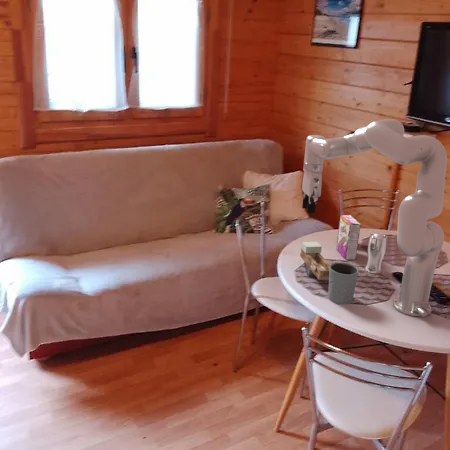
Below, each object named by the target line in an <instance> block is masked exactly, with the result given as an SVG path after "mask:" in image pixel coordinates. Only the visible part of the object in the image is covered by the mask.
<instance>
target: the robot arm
mask: <svg viewBox="0 0 450 450" xmlns="http://www.w3.org/2000/svg"><path fill="white" fill-rule="evenodd" d="M404 135H405V128H404V125H403V123H402V122H401V121H400V120H397V119H394V118H387V119H386V118H385V119H379V120H374V121H372V122H370V123H369V124H368V125H365V126H361V127H359V128H358V127H357V129H356V130H355V132H354V133H352V134H351V133H350V134H348V135H345V136H339V137H333V138H332V137H331V138H326V137H325V136H323V135H318V134H311V135H310V134H309V135H308V136H307V137H306V139H305V141H306V142H305V148H304V149H305V151H304V159H303V168H302V169H303V177H302V184H301V185H302V186H301V189H302V192H303V195H302V207H301V208H302V209H303V210H304V209H306V213H307V214H315V213H316V205H317V202H318V200H319V197H321V196H322V195H321V194H322V185H323V184H322V182H323V180H322V179H323V177H322V173H323V170H324V161H325V160H331V159H337V158H342V157H343V158H344V157H347V156H351V155H354V154H359V153H364V152H368V151H371V150H375V151H377V152H379V153H380V154H382V155H383V156H384V157H387V159H390V160H391V161H393V162H394V163H396V164H398V165H403V166H404V165H405V166H406V165H412V164H417V163H420V167H419V169H418V172H417V174H416V187H415V190H414V191H415V192H414V193H412V194H409V195H407V196H406V197H404V198H403V199H402V201H401V202H400V205H399V207H398V213H397V214H398V215H397V226H396V227H397V228H396V230H397V231H396V243H397V248H398V249H399V251H400V252H401V253H402V254H403V255H404V256H406V257H405V258H406V259H405V265H404V269H403V274H402V277H401V278H402V280H401V285H400V291H399V295H398V297H397V296H396V297H395V298H394V299H393V301H392V306H393V307H394V308H395V309H396V310H397V311H399V312H400V313H402V314H404V315H408V316H411V317H424V318H425V317H426V316H428V315H430V314H431V313H432V307H431V305H430V302H429V299H430V294H431V289H432V284H433V280H434V274H435V270H436V267H437V262H438V258H439V255H440V252H441V250H442V248H443V245H444V241H445V232H444V230H443V228H442V227H441V226H440V224H438V223H437V222H434V221H430V220H433V219H435V218H437V217H439V216H440V215H441V214H442V213H443V208H444V198H445V187H446V174H447V167H448V165H447V164H448V155H447V151H446V147H444V145H443V144H442V142H441V141H440V140H438V139H437V138H436V137H433V136H431V135H425V134H423V135H422V134H420V135H413V136H408V137H405V136H404Z"/></svg>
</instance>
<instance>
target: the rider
mask: <svg viewBox="0 0 450 450" xmlns="http://www.w3.org/2000/svg"><path fill="white" fill-rule="evenodd" d="M301 248H302V250H303V251H304V252H305V253H309V254H310V255H311V257H312V258H315V257H316V253H320V254H321V253H322V248H323V247H322V245H321V244H320V243H319V242H318V241H302V242H301Z"/></svg>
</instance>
